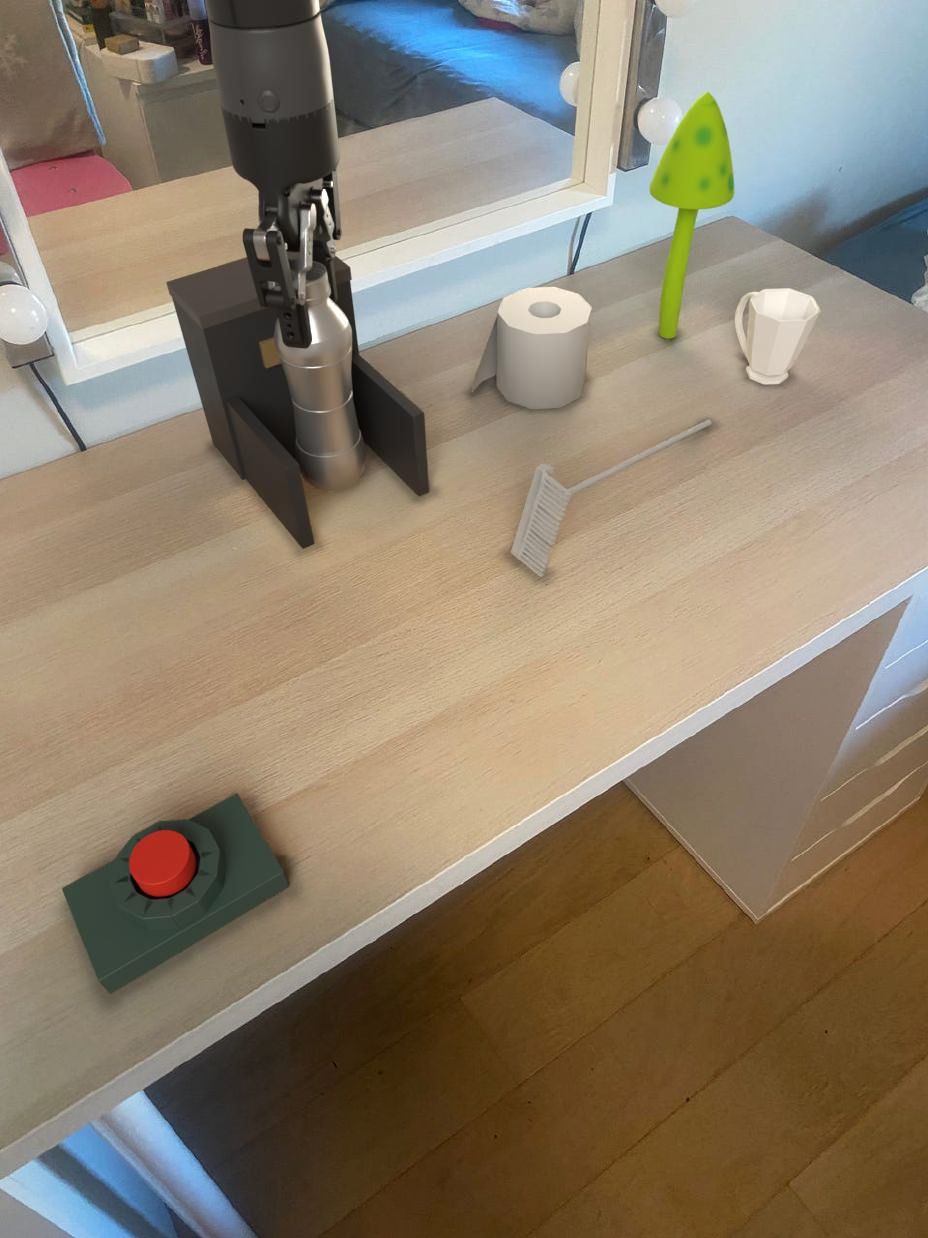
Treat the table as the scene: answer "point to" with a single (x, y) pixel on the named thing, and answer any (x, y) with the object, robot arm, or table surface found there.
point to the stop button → (162, 863)
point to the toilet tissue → (538, 347)
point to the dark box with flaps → (280, 390)
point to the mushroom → (691, 192)
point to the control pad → (164, 926)
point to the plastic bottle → (324, 392)
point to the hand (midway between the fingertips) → (311, 323)
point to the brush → (539, 504)
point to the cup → (775, 331)
